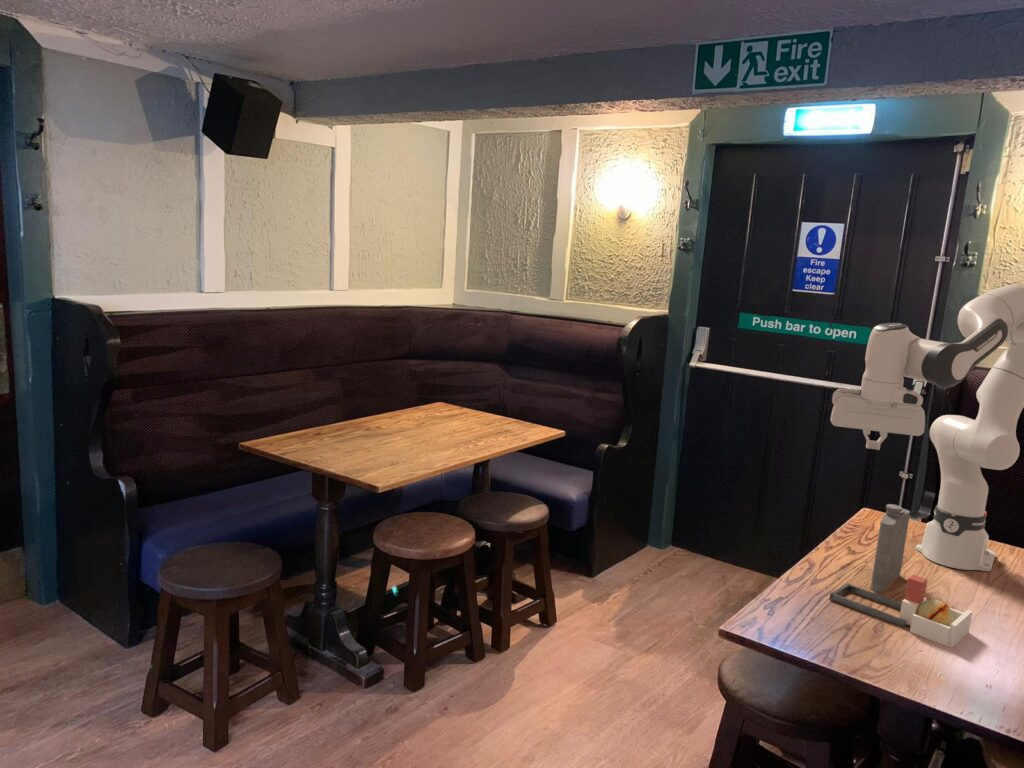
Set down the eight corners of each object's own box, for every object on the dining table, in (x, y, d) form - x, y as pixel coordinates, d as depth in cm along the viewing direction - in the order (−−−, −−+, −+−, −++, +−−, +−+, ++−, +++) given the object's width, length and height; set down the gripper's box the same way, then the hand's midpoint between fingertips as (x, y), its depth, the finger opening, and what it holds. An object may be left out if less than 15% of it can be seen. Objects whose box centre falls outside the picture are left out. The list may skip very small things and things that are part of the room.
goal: (927, 617, 178) (931, 597, 177) (968, 632, 172) (972, 611, 171) (909, 631, 170) (913, 610, 169) (951, 647, 164) (955, 626, 163)
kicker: (909, 613, 178) (915, 572, 176) (922, 618, 176) (929, 577, 174) (898, 621, 174) (905, 579, 172) (912, 626, 172) (919, 584, 170)
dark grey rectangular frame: (846, 588, 190) (847, 583, 190) (919, 615, 178) (920, 609, 178) (829, 599, 184) (830, 593, 184) (904, 627, 172) (905, 621, 172)
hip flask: (882, 594, 189) (894, 515, 185) (864, 588, 191) (876, 511, 187) (901, 575, 200) (913, 501, 197) (884, 570, 203) (896, 497, 199)
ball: (908, 626, 173) (912, 597, 171) (928, 620, 176) (933, 591, 175) (937, 641, 167) (942, 611, 165) (957, 635, 170) (963, 605, 169)
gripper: (834, 389, 183) (826, 445, 186) (930, 399, 177) (921, 457, 180) (832, 384, 189) (825, 439, 192) (925, 394, 183) (916, 451, 186)
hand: (872, 448), depth 186 cm, fingers closed
